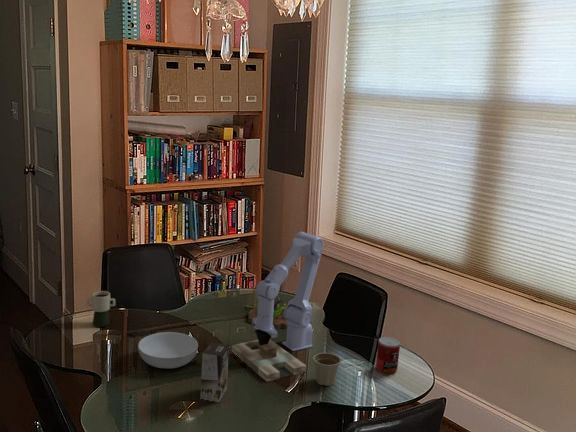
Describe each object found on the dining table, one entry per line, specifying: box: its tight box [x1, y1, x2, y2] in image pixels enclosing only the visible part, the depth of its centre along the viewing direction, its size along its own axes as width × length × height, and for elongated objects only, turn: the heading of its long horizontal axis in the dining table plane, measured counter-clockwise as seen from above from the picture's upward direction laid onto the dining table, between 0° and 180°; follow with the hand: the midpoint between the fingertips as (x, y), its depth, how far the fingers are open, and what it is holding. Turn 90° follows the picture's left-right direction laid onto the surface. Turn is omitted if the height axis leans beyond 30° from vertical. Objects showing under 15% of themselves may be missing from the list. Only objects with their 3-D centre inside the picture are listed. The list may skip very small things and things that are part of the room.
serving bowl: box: [137, 331, 199, 369], centre depth 231 cm, size 21×21×7 cm
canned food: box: [375, 336, 401, 375], centre depth 236 cm, size 8×8×11 cm
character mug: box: [86, 290, 116, 328], centre depth 258 cm, size 11×7×13 cm, turn 97°
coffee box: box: [200, 342, 230, 403], centre depth 210 cm, size 9×6×16 cm
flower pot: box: [313, 352, 342, 387], centre depth 224 cm, size 9×9×9 cm
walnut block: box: [259, 343, 277, 359], centre depth 236 cm, size 4×4×4 cm
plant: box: [247, 296, 288, 330], centre depth 276 cm, size 20×20×11 cm
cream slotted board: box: [230, 339, 307, 382], centre depth 237 cm, size 16×26×2 cm, turn 33°
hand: (263, 348), depth 239 cm, fingers closed
